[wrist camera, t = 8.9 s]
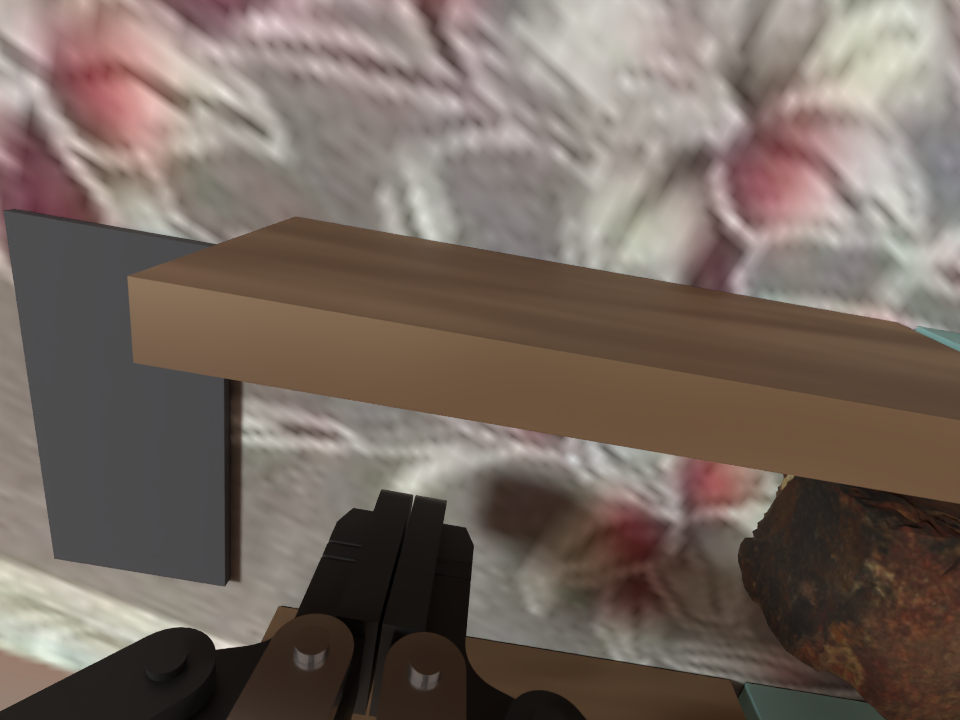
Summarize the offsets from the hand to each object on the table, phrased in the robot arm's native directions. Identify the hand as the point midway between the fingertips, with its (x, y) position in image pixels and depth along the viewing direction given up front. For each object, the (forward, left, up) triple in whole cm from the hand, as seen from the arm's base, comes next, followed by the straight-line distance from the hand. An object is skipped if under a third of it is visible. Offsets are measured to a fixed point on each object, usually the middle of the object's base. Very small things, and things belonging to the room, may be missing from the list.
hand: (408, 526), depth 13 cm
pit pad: (0, -8, -2) cm, 8 cm away
